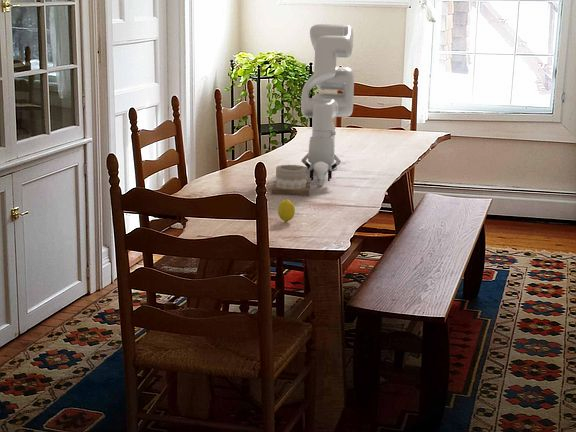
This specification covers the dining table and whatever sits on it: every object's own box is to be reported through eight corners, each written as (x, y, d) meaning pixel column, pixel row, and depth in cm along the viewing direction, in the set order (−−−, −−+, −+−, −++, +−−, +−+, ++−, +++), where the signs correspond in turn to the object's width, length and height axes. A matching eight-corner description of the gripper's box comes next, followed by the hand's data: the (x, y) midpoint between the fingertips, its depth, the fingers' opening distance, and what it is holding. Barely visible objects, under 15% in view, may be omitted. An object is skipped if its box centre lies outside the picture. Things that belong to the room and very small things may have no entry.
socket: (273, 186, 358) (274, 163, 356) (309, 187, 358) (310, 164, 355) (270, 194, 345) (271, 171, 343) (308, 196, 344) (309, 172, 342)
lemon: (294, 220, 311) (294, 197, 309) (294, 224, 305) (295, 201, 303) (277, 220, 310) (278, 197, 308) (277, 224, 305) (278, 201, 303)
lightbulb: (314, 188, 357) (315, 160, 354) (310, 184, 363) (311, 156, 360) (330, 187, 358) (331, 159, 356) (325, 184, 364) (326, 156, 361)
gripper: (344, 133, 358) (342, 178, 363) (300, 131, 359) (298, 177, 364) (344, 136, 351) (342, 183, 356) (299, 135, 352) (297, 181, 357)
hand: (320, 179), depth 360 cm, fingers closed on lightbulb, 5 cm apart
